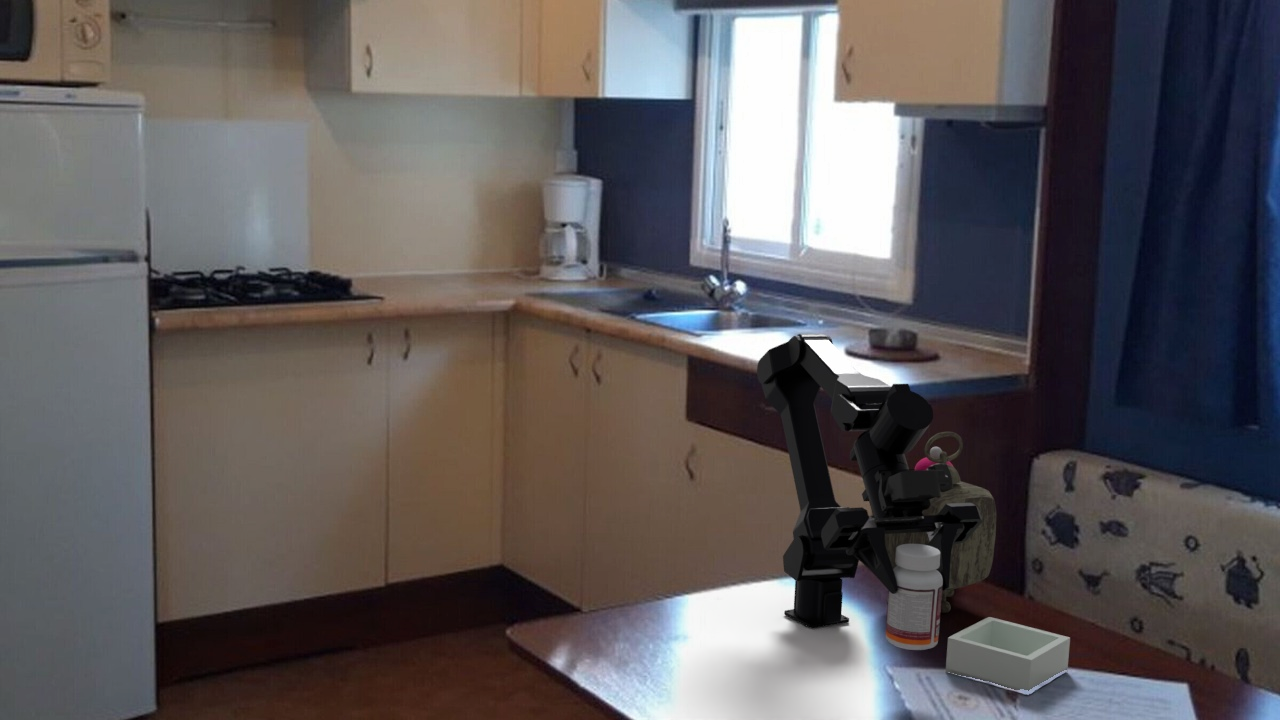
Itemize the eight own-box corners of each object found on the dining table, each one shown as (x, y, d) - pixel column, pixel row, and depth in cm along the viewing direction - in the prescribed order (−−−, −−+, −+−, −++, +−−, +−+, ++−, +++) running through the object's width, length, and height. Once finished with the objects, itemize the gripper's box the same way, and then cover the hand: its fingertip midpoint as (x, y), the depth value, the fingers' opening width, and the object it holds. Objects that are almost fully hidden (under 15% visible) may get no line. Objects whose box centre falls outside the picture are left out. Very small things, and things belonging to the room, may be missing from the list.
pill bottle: (910, 629, 188) (917, 539, 186) (949, 645, 183) (956, 552, 181) (874, 639, 185) (880, 546, 183) (912, 655, 180) (919, 560, 178)
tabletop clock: (948, 592, 225) (961, 421, 221) (995, 610, 218) (1009, 434, 213) (873, 606, 217) (884, 430, 213) (918, 626, 210) (931, 444, 205)
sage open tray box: (945, 672, 193) (948, 637, 192) (986, 650, 201) (989, 616, 201) (1028, 696, 186) (1031, 660, 185) (1067, 672, 195) (1070, 637, 194)
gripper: (837, 441, 181) (871, 562, 173) (981, 437, 186) (1021, 554, 178) (806, 490, 190) (837, 607, 181) (945, 484, 195) (981, 598, 187)
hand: (920, 590), depth 182 cm, fingers closed on pill bottle, 6 cm apart
